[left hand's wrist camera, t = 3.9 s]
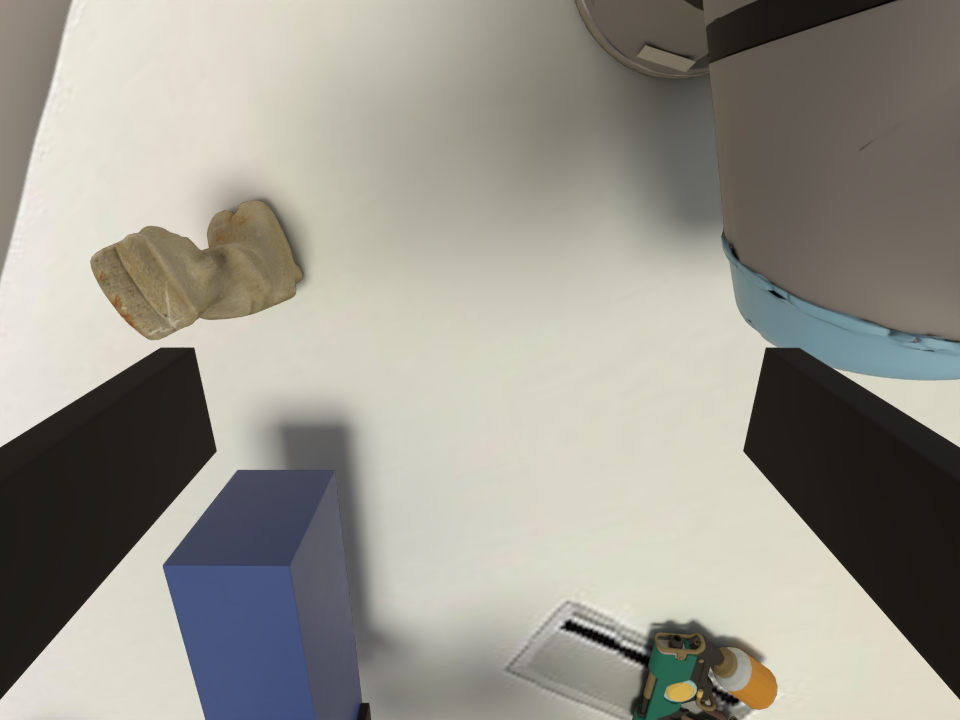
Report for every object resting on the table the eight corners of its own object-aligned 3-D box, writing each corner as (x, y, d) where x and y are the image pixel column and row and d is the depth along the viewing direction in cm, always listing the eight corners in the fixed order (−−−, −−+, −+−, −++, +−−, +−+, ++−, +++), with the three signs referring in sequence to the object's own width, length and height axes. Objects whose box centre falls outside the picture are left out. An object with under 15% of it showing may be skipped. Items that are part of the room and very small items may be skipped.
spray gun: (710, 737, 61) (592, 704, 60) (791, 648, 54) (659, 609, 53) (724, 779, 57) (597, 745, 56) (813, 688, 50) (671, 647, 49)
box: (237, 469, 38) (161, 565, 29) (335, 469, 38) (289, 566, 29) (289, 733, 48) (245, 864, 39) (366, 734, 48) (339, 865, 39)
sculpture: (279, 189, 38) (161, 212, 24) (323, 282, 40) (240, 352, 26) (208, 217, 38) (53, 256, 24) (255, 306, 41) (140, 388, 27)
